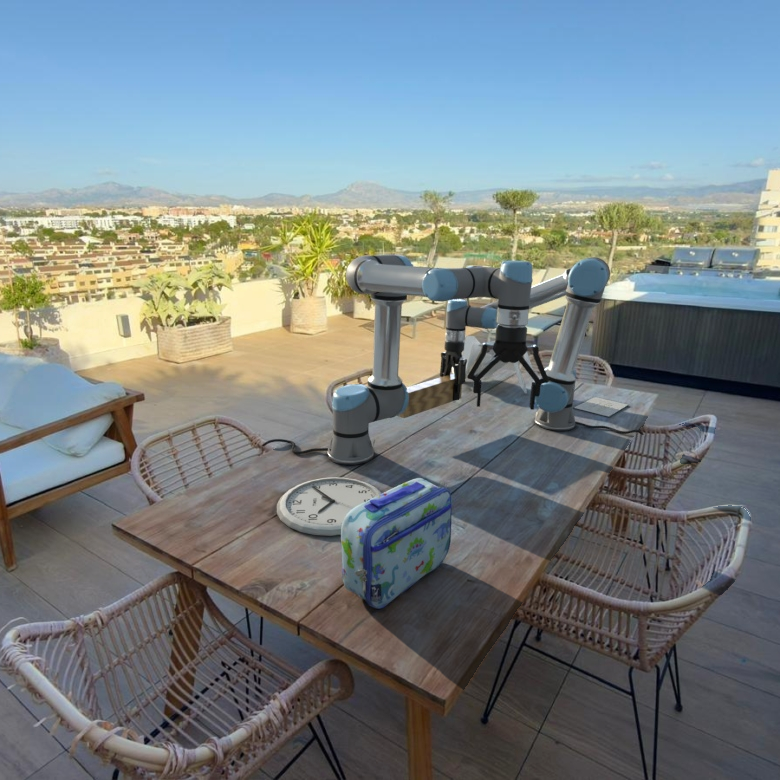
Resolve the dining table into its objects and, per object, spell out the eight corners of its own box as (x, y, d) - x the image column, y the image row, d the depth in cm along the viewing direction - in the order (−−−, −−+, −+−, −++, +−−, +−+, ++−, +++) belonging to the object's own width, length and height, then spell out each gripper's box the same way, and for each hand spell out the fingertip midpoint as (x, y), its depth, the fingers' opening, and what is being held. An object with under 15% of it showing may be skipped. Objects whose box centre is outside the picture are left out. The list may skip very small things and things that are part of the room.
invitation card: (608, 416, 214) (573, 407, 224) (608, 416, 214) (573, 408, 224) (628, 404, 229) (594, 396, 238) (628, 405, 229) (594, 397, 238)
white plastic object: (472, 423, 260) (450, 400, 235) (454, 348, 282) (432, 320, 258) (544, 398, 248) (529, 371, 223) (519, 323, 270) (503, 291, 245)
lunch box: (370, 622, 101) (370, 527, 94) (335, 595, 108) (333, 505, 102) (455, 565, 118) (460, 481, 112) (420, 544, 125) (423, 465, 119)
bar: (451, 395, 211) (453, 373, 208) (461, 398, 208) (462, 376, 205) (394, 414, 190) (394, 390, 187) (403, 418, 186) (404, 394, 183)
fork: (423, 514, 139) (423, 507, 138) (438, 487, 153) (439, 481, 152) (432, 516, 138) (433, 509, 137) (447, 489, 152) (448, 483, 152)
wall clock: (392, 527, 129) (268, 531, 127) (391, 533, 130) (269, 537, 127) (383, 473, 158) (282, 475, 155) (383, 478, 158) (282, 480, 156)
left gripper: (461, 326, 127) (456, 408, 133) (566, 330, 124) (556, 414, 130) (460, 320, 134) (456, 399, 140) (560, 324, 131) (551, 404, 138)
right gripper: (432, 336, 206) (429, 392, 213) (462, 346, 191) (458, 406, 198) (447, 334, 210) (444, 389, 217) (478, 344, 194) (473, 403, 201)
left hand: (504, 406), depth 135 cm, fingers open, 13 cm apart
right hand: (450, 397), depth 207 cm, fingers closed on bar, 6 cm apart
